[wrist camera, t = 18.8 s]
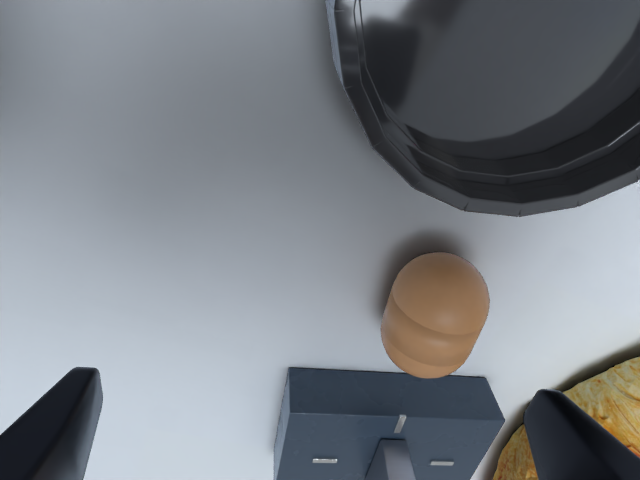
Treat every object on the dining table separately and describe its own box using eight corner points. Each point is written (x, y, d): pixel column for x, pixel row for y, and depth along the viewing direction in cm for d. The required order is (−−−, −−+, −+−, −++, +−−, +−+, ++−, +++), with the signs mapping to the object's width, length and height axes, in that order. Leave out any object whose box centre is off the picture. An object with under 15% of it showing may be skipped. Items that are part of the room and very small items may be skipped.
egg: (365, 329, 25) (381, 397, 22) (394, 229, 22) (419, 290, 18) (442, 333, 26) (469, 399, 22) (482, 237, 23) (522, 298, 19)
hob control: (273, 451, 31) (273, 500, 28) (288, 364, 27) (290, 413, 24) (445, 455, 33) (459, 501, 30) (487, 375, 28) (508, 421, 26)
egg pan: (300, 154, 20) (304, 194, 17) (376, -369, 12) (409, -463, 9) (606, 191, 22) (657, 232, 19) (840, -233, 14) (988, -273, 11)
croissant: (612, 276, 29) (642, 346, 22) (775, 363, 28) (862, 468, 21) (442, 469, 39) (426, 559, 32) (554, 541, 38) (563, 651, 31)
